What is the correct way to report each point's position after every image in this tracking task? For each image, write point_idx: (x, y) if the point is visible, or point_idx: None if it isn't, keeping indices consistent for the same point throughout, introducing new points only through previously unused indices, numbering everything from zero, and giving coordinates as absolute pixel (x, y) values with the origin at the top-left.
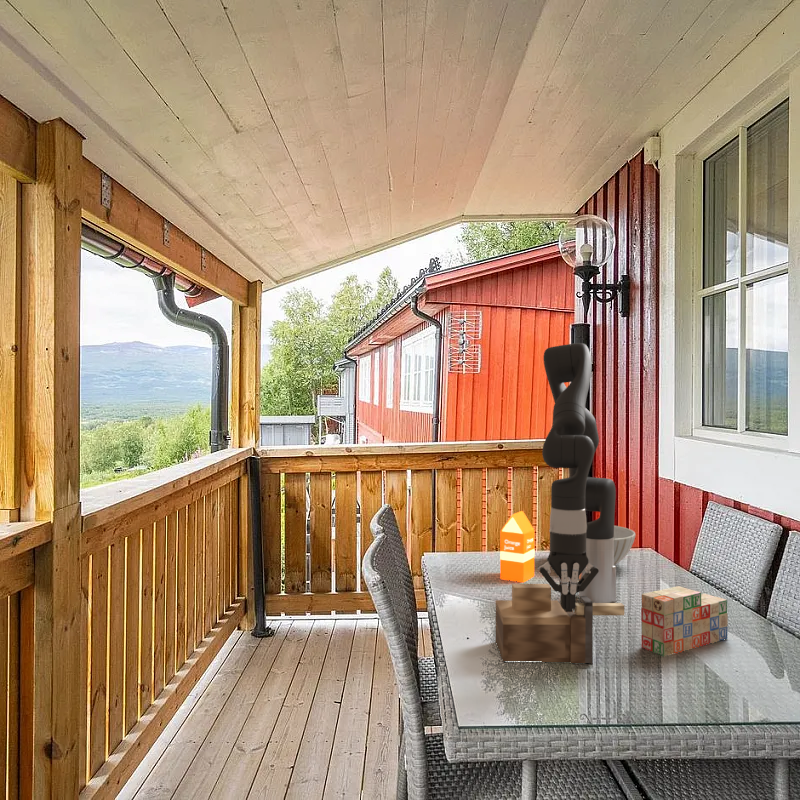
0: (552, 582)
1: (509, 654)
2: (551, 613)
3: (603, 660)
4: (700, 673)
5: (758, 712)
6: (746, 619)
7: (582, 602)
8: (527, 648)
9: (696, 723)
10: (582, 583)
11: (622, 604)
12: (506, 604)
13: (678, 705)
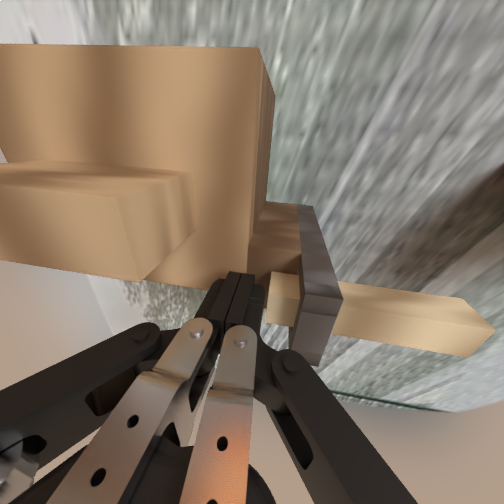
0: (110, 404)
1: None
2: (194, 255)
3: (336, 233)
4: (490, 310)
5: (437, 396)
6: None
7: (295, 318)
8: None
9: (340, 392)
10: (283, 440)
11: (477, 345)
12: (22, 128)
13: (350, 368)
